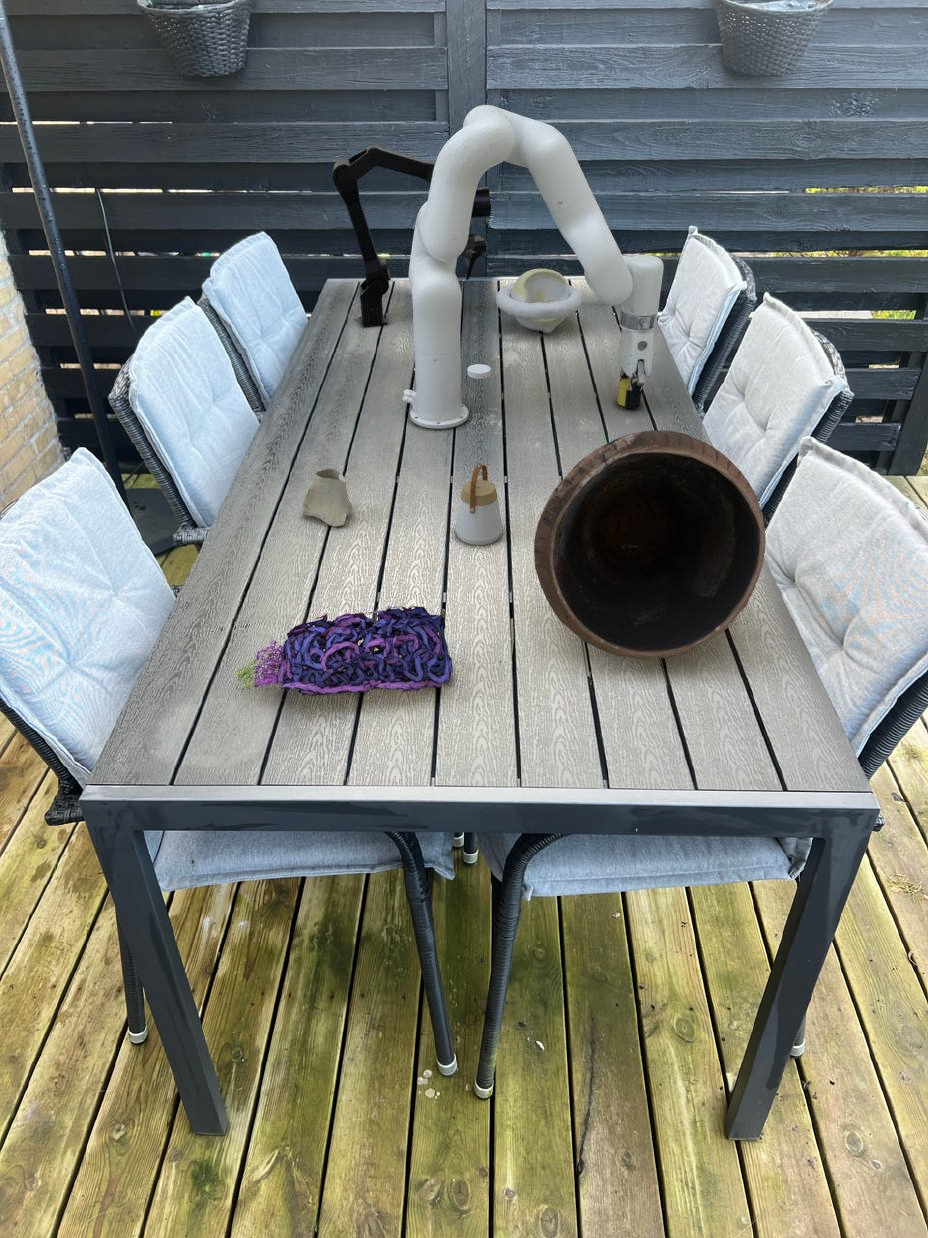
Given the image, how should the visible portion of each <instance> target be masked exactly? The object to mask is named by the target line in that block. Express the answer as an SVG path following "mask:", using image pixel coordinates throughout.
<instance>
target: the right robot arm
mask: <svg viewBox="0 0 928 1238" xmlns="http://www.w3.org/2000/svg"><path fill="white" fill-rule="evenodd" d="M462 123H463V124H462V128H461V129H460V130H458V131H457V132H455V133H454V134H453V135H452V136H451V137H450V138H449V139H448V140H447V141H446V142H445V143H444V145H443V146H442V149H441V150H440V151H439V153H438V155H437V158H436V159H435V160H436V163H435V166H434V170H433V175H432V181H431V183H430V187H429V191H428V196H427V201H425V202H424V203H423V204H422V205H421V207H420V208H419V211H418V213H417V216H416V219H415V223H414V224H415V225H414V231H413V236H412V237H413V238H412V243H411V252H410V259H409V264H408V265H409V267H408V283H409V287H410V294H411V301H412V319H413V320H412V323H413V324H412V326H413V329H412V330H413V350H414V369H415V390H414V389H413V390H412V389H408V388H406V389H404V391H403V396H402V402H403V403H406V404H411V406H412V408H411V409H410V411H409V418H410V420H411V422H412V423H414V424H416V426H418V427H421V428H426V429H430V430H431V429H433V430H443V429H445V430H446V429H451V428H455V427H459V426H460V425H463V424H464V423H465V422H466V421H468V419H469V414H470V413H469V409H468V407H467V406H466V405H464V404H462V369H461V368H462V366H461V365H462V363H461V362H462V358H461V357H462V356H461V355H462V353H461V351H462V350H461V348H462V347H461V321H462V320H461V319H462V318H461V317H462V303H463V300H462V299H463V298H462V290H461V286H460V281H459V279H458V277H457V274H456V267H457V262H458V257H460V256H459V255H460V254H461V253H462V252H463V251H464V249H465V247H466V244H467V241H468V235H469V234H470V226H471V221H472V218H471V214H472V208H473V202H474V198H475V194H476V189H477V188H478V184H479V182H480V180H481V178H482V177H483V176H484V174H485V173H486V172H487V171H488V170H490V169H491V168H492V167H494V166H497V165H499V164H502V163H503V162H505V163H509V164H511V165H514V166H518V167H521V168H522V167H523V168H526V169H527V170H528V171H529V174H530V175H531V177H532V180H533V181H534V183H535V185H536V187H537V190H538V191H539V193H540V195H541V197H542V199H543V201H544V203H545V205H546V207H547V209H548V211H549V213H550V215H551V217H552V220H553V222H554V224H555V225H556V227H557V229H558V231H559V232H560V234H561V236H562V237H563V239H564V240H565V241H566V242H567V244H568V245H569V246H570V248H571V249H572V251H573V253H574V255H576V257H577V259H578V261H579V262H580V265H581V266H582V268H583V270H584V271H583V275H584V280H585V282H586V285H588V287H589V288H590V290H591V291H592V292H593V294H594V296H595V297H596V298H597V299H598V300H599V302H600V303H602V304H603V305H606V306H607V307H617V306H620V305H621V307H620V317H619V327H620V328H621V333H620V339H619V347H618V357H617V358H618V365H620V373H619V383H618V385H619V384H620V381H621V380H623V379H627V378H629V385H628V389H627V391H626V399H625V406H624V408H626V409H631V408H633V409H634V408H640V406H641V400H642V399H641V398H642V391H643V386H644V385H645V383H646V381H645V377H646V378H650V377H651V375H652V371H653V369H652V368H653V359H654V358H653V356H654V338H655V337H654V331H655V330H656V328H657V322H658V314H659V307H660V299H661V291H662V285H663V275H664V266H665V265H664V262H663V260H662V259H661V258H660V257H658V256H655V255H650V254H636V255H633V256H631V255H623V254H622V252H621V249H620V248H619V245H618V244H617V241H616V240H615V238H614V236H613V234H612V232H611V230H610V228H609V226H608V223H607V221H606V218H605V216H604V214H603V212H602V209H601V208H600V206H599V204H598V202H597V200H596V198H595V196H594V194H593V191H592V189H591V188H590V185H589V183H588V181H587V178H586V176H585V174H584V171H583V170H582V168H581V165H580V164H579V161H578V159H577V157H576V155H575V152H574V151H573V148H572V146H571V144H570V142H569V140H568V139H567V138H566V137H565V136H564V134H563V133H562V132H560V131H559V130H558V129H557V128H555V126H553V125H551V124H548V123H545V122H543V121H540V120H536V119H533V118H530V117H527V116H524V115H521V114H518V113H515V112H512V111H509V110H507V109H503V108H500V107H498V106H494V105H491V104H481V105H478V106H475V107H473V108H472V109H471V110H470V111H469V112H468V113H467V114H466V115H465V118H464V120H463V122H462ZM635 374H636V375H635ZM633 379H637V380H636V382H634V383H633ZM632 383H633V384H632ZM618 392H619V390H618V391H617V393H618Z"/></svg>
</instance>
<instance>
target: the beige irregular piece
mask: <svg viewBox="0 0 928 1238" xmlns="http://www.w3.org/2000/svg"><path fill="white" fill-rule="evenodd" d="M347 489H348V488H347V480H346V478H345V476H344V475H343V474H342V473H341V472H340V471H338V470H337V469H334V468H326V469H321V470H319V471H316V473H315V475H314V476H313V478H312V481H311V482H310V485H309V486H308V487H307V490H306V491H305V493H304V496H303V498H302V508H301V513H302V514H303V515H305V516H307V517H314V518H317V519H319V520H322V521H323V522H324V523H325V524H327V525H328V526H330V527H334V528H336V527H342V526H344V525H345V524H346V520H347V516H348V515H349V514H351V512H352V511H353V503H352V502H351V501H350V499H349V495H348V490H347Z"/></svg>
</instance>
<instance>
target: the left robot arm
mask: <svg viewBox="0 0 928 1238" xmlns="http://www.w3.org/2000/svg"><path fill="white" fill-rule="evenodd" d="M436 160H437V159H433V160H432V159H431V160H430V159H429V160H428V159H423V158H420V157H419V158H418V157H416V156H413V155H408V154H405V153H402V152H398V151H395V150H391V149H388V148H384V147H380V145H377V144H369V145H368V147H366V148H365V149H364V150H361V151H360V152H357V153H355V154H353V155H352V156H351V157H348V158H347V159H345V158H341V159H339V160H337V161H336V162H335V163H334V165H333V167H332V182H333V184H334V186H335V188H336V190H337V192H338V194H339V196H340V198H341V200H342V201H343V203H344V205H345V207H346V209H347V212H348V216H349V220H350V222H351V225H352V228H353V231H354V234H355V238H356V242H357V245H358V248H359V250H360V254H361V257H362V260H363V266H364V274H365V275H364V276H365V279H364V280H363V281H362V283H360V285H359V286H358V289H359V291H358V292H359V301H360V302H359V304H360V313H361V315H360V316H358V317H357V319H358V321H359V322H360V324H361V326H362V327H363V328H367V327H376V326H382V325H388V321H387V320H386V318H385V316H384V307H383V297H384V295H386V294H387V292H388V291H389V289H390V282H391V281H392V279H391V277H392V276H391V272H390V270H389V269H388V267H387V266H388V265H387V259H386V257H384V258H380V257H379V255H378V253H377V250H376V246H375V244H374V243H375V242H374V240H373V237H372V233H371V230H370V228H369V227H370V226H369V223H368V221H367V217H366V214H365V210H364V208H363V205H362V201H361V197H360V189H359V182H358V180H360V179H361V178H362V177H364V176H365V175H366V174H367V173H369V172H370V171H371V170H372V169H374V168H376V167H380V168H384V169H388V170H391V171H394V172H397V173H400V174H401V173H402V174H405V175H409V176H412V177H416V178H419V179H422V180H424V181H426V182H428V183H429V184H431V181H432V175H433V170H434V166H435V163H436ZM490 194H491V193H490V188H489V187H488V186H482V187H477V189H476V194H475V198H474V202H473V208H472V214H471V219H472V218H473V219H474V218H491V215H492V203H491V195H490ZM488 248H489V246H488V242H487V240H486V239H485V238H483V237H482V236H481V235H474V233H473V232H472V233H469V235H468V241H467V244H466V247H465V249H464V251H463V252H462V253H461V254H460V255H459V256H458V257H464V258H465V260H464V263H465V264H464V265H465V266H464V272H465V273H464V274H465V280H466V281H469V280H470V277H471V274H472V271H473V268H474V266H475V263H476V261H477V260H478V258H479V257H482V256H483V255H484V254H485V253H488V250H489V249H488Z"/></svg>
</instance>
